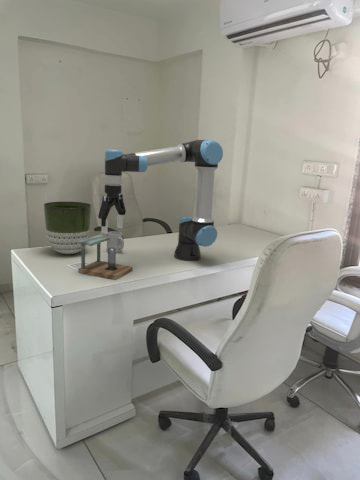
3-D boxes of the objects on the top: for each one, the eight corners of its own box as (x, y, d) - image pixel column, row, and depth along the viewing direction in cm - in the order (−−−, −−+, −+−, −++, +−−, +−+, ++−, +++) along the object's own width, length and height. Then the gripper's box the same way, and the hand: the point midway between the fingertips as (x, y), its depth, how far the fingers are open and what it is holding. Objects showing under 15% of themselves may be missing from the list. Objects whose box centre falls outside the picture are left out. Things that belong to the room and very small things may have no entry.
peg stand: (132, 270, 180) (133, 240, 177) (115, 280, 166) (116, 247, 162) (97, 264, 187) (97, 235, 184) (78, 272, 172) (78, 241, 169)
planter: (99, 254, 205) (100, 206, 198) (59, 261, 187) (58, 209, 181) (76, 245, 221) (75, 200, 214) (36, 251, 203) (35, 202, 197)
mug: (103, 251, 212) (103, 232, 209) (115, 248, 218) (115, 230, 216) (117, 255, 204) (117, 236, 202) (128, 253, 211) (129, 234, 208)
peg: (110, 271, 178) (110, 247, 175) (116, 272, 176) (117, 248, 174) (106, 273, 174) (106, 248, 172) (112, 274, 173) (113, 249, 170)
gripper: (119, 182, 179) (119, 225, 183) (90, 185, 156) (90, 234, 161) (133, 183, 176) (132, 227, 181) (105, 187, 153) (104, 236, 158)
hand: (112, 230), depth 171 cm, fingers open, 13 cm apart
